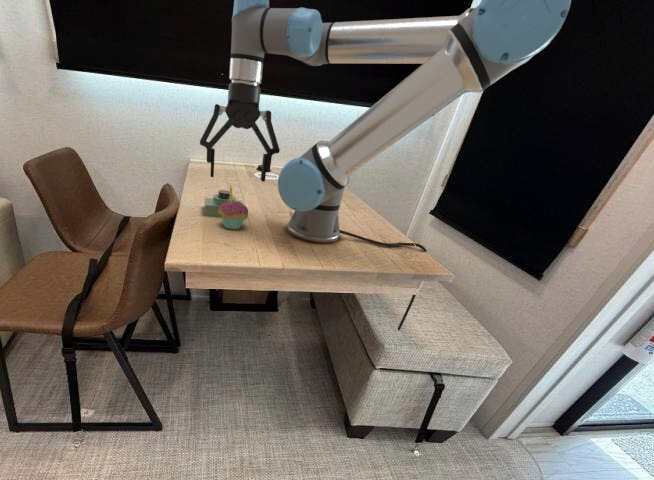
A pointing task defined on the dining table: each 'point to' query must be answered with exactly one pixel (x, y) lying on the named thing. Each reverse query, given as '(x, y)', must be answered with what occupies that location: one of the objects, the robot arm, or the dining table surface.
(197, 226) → the dining table surface
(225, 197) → the pump
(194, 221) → the dining table surface
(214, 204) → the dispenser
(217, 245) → the dining table surface
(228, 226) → the cupcake
